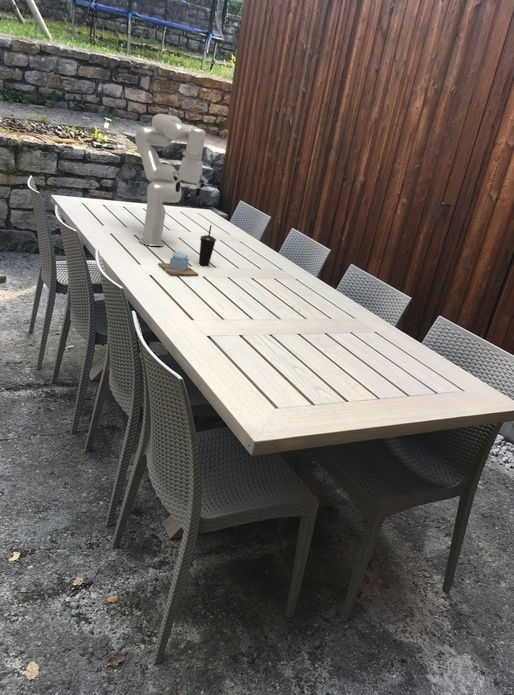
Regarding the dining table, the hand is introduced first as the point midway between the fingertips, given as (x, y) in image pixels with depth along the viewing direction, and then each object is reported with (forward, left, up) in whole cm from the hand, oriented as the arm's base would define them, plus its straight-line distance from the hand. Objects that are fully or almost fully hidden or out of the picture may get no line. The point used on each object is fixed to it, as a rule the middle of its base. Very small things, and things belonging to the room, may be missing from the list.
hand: (187, 194), depth 272 cm
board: (+16, -7, -32) cm, 37 cm away
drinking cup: (+6, +12, -32) cm, 35 cm away
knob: (+16, -7, -31) cm, 36 cm away
